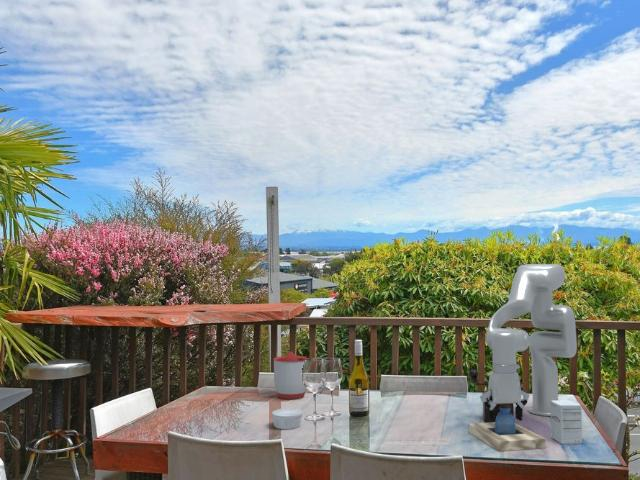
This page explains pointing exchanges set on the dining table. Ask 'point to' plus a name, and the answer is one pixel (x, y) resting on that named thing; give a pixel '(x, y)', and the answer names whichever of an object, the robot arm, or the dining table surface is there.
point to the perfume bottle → (505, 421)
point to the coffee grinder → (473, 376)
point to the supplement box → (566, 422)
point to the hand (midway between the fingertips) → (505, 420)
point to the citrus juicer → (289, 376)
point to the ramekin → (287, 418)
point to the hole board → (507, 437)
